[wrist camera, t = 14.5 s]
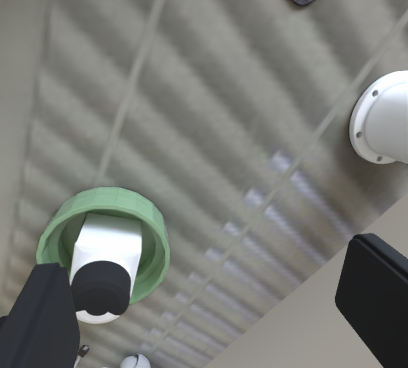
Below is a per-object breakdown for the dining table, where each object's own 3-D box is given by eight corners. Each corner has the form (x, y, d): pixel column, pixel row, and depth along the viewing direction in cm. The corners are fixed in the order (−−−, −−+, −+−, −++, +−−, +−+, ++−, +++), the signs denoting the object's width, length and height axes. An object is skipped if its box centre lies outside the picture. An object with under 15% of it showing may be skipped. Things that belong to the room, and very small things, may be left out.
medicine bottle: (86, 211, 37) (62, 273, 26) (142, 219, 39) (141, 280, 28) (79, 257, 39) (54, 331, 29) (132, 262, 41) (128, 334, 31)
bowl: (188, 224, 41) (194, 246, 36) (124, 295, 44) (122, 325, 39) (94, 162, 35) (85, 178, 31) (27, 248, 38) (9, 277, 33)
